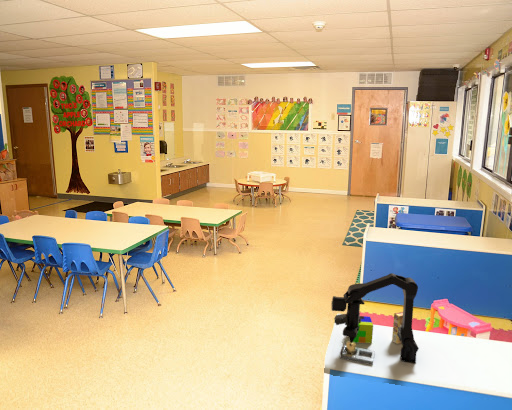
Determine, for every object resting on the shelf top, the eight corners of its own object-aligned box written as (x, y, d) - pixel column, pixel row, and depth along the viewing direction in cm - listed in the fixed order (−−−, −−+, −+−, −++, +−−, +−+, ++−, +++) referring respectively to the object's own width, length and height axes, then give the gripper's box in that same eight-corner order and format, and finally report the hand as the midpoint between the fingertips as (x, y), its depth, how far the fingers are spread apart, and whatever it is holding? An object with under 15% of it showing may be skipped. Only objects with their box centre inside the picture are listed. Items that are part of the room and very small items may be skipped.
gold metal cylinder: (355, 353, 208) (356, 342, 207) (354, 357, 204) (355, 346, 202) (346, 351, 209) (347, 340, 208) (345, 356, 205) (345, 344, 204)
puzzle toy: (368, 334, 227) (370, 316, 225) (371, 343, 218) (373, 325, 216) (349, 332, 228) (350, 315, 226) (351, 342, 219) (353, 324, 217)
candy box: (397, 344, 217) (399, 316, 214) (391, 340, 221) (393, 312, 218) (410, 341, 220) (413, 313, 218) (405, 337, 224) (407, 310, 221)
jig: (374, 354, 207) (375, 347, 206) (372, 364, 198) (373, 357, 197) (343, 348, 212) (344, 341, 212) (340, 358, 203) (340, 350, 202)
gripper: (339, 301, 213) (337, 330, 216) (332, 316, 196) (330, 347, 199) (362, 305, 210) (360, 334, 213) (357, 321, 192) (355, 352, 195)
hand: (351, 342), depth 205 cm, fingers closed
